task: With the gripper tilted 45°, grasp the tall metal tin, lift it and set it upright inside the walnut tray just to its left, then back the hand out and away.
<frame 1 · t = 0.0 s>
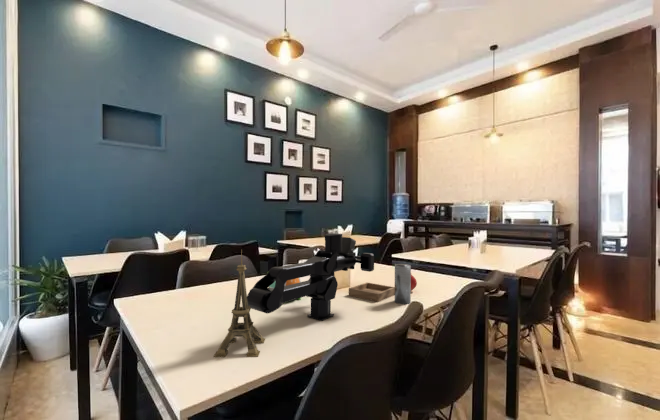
hand: (363, 257, 126), 17 cm above the table, tool horizontal, fingers open, 9 cm apart
eiffel tower: (241, 348, 82), on the table
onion: (409, 291, 140), on the table
tin: (402, 301, 124), on the table
tray: (372, 295, 133), on the table
turtle holder: (282, 298, 128), on the table
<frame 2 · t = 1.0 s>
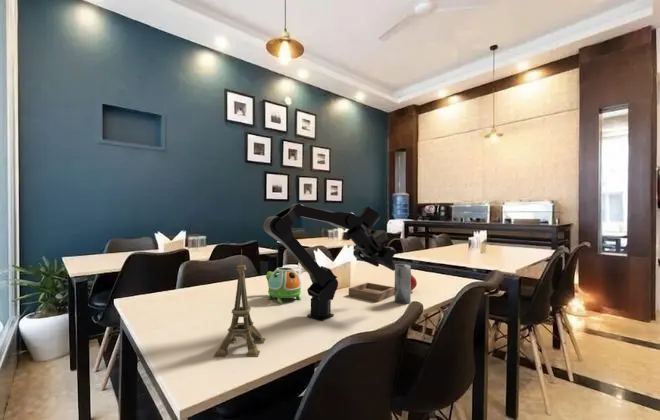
hand: (386, 267, 120), 14 cm above the table, tool tilted 45°, fingers open, 9 cm apart
nothing on the table moved.
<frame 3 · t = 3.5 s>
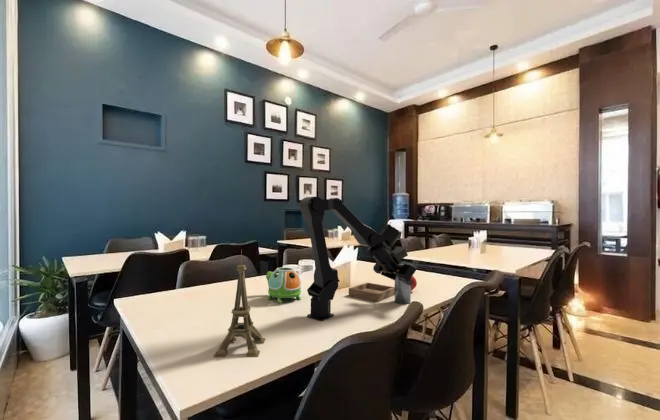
hand: (405, 282, 125), 7 cm above the table, tool tilted 45°, fingers closed on tin, 6 cm apart
tin: (402, 301, 124), on the table, touching gripper
everything else where it was.
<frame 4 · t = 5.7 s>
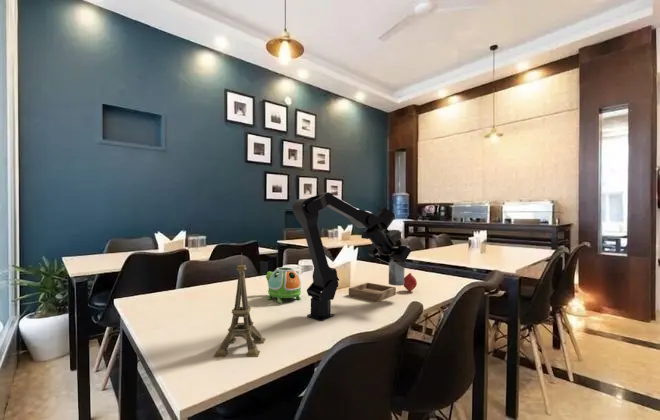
hand: (398, 265, 127), 13 cm above the table, tool tilted 45°, fingers closed on tin, 6 cm apart
tin: (396, 283, 126), point 6 cm above the table, touching gripper
everything else where it was.
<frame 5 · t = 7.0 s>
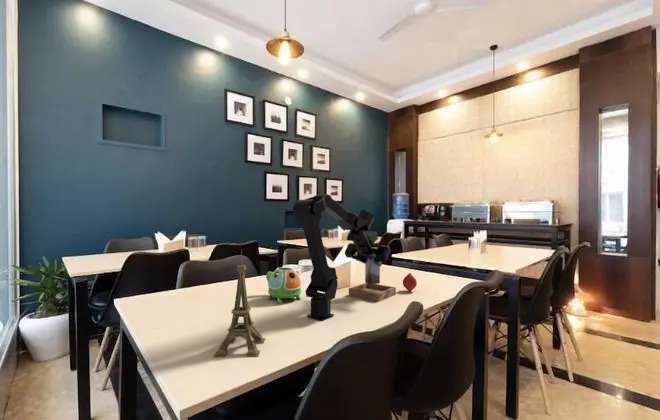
hand: (374, 264, 134), 12 cm above the table, tool tilted 45°, fingers closed on tin, 6 cm apart
tin: (372, 282, 133), point 5 cm above the table, touching gripper
everything else where it was.
when the fingers open (9 cm above the table, at t = 8.0 s): tin drops 1 cm, resting on tray.
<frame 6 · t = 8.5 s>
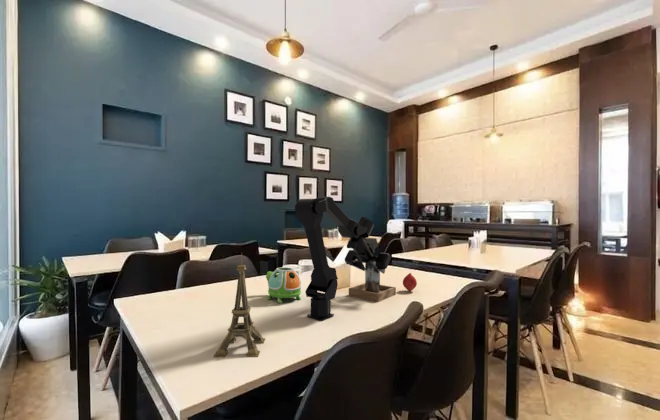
hand: (374, 271, 135), 10 cm above the table, tool tilted 45°, fingers open, 9 cm apart
tin: (372, 292, 133), point 1 cm above the table, touching tray
everything else where it was.
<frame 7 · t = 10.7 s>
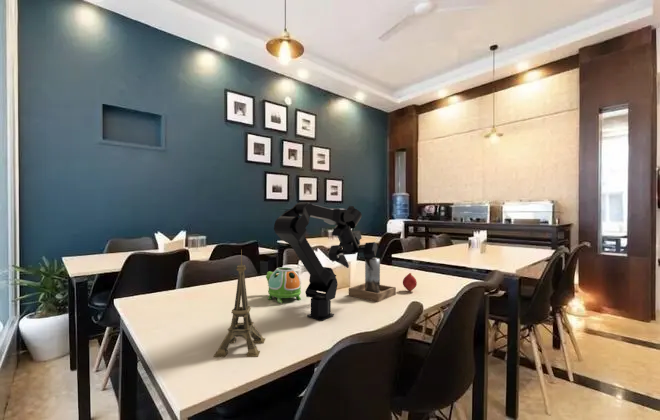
hand: (359, 266, 127), 13 cm above the table, tool tilted 40°, fingers open, 9 cm apart
nothing on the table moved.
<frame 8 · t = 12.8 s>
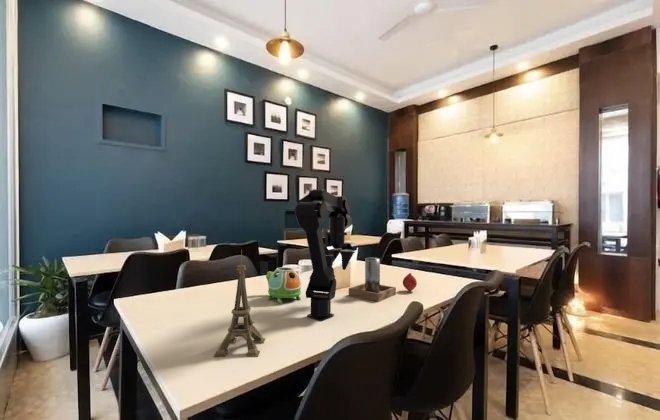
hand: (336, 271, 121), 12 cm above the table, tool pointing down, fingers open, 9 cm apart
nothing on the table moved.
at the end: tin inside the target area on the tray (0.1 cm from its centre), point 1.0 cm above the tray's base; tin tilted 0°; the gripper is holding nothing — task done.
